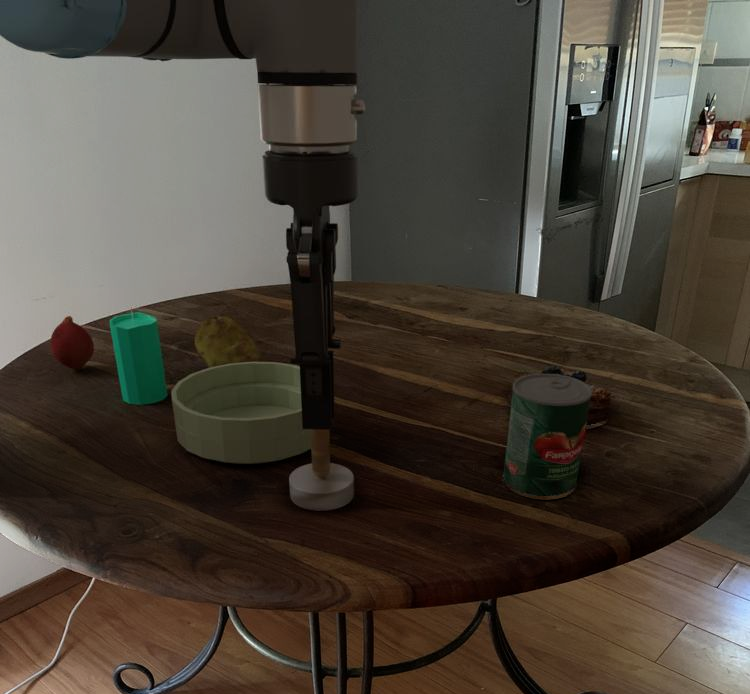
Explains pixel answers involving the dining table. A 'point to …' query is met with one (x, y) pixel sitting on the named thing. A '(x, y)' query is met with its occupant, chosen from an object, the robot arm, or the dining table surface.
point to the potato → (225, 342)
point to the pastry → (598, 399)
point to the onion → (71, 344)
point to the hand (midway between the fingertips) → (318, 421)
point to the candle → (138, 358)
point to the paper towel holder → (321, 478)
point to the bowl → (241, 413)
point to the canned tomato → (546, 433)
